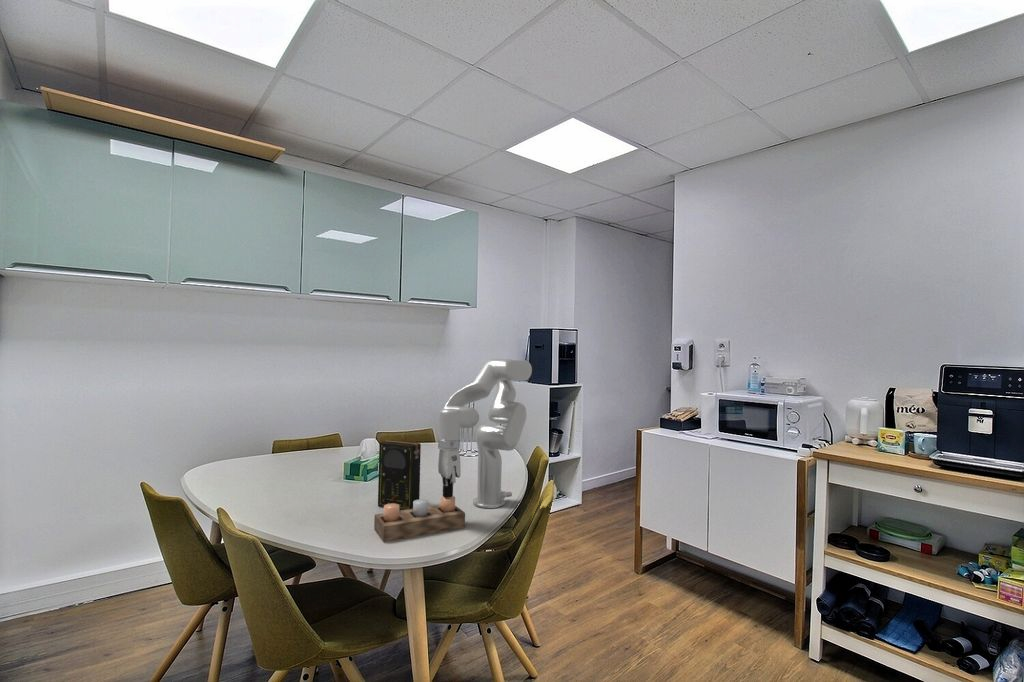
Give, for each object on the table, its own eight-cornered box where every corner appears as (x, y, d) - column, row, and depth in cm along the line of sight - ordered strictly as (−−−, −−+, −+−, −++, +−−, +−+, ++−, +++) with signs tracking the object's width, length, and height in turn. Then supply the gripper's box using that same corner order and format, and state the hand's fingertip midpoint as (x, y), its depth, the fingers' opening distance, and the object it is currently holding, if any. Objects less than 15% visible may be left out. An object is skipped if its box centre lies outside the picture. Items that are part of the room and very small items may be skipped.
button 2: (451, 508, 170) (451, 494, 170) (457, 512, 166) (457, 498, 166) (438, 510, 168) (438, 496, 168) (443, 515, 163) (444, 500, 163)
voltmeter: (375, 507, 182) (376, 442, 183) (388, 500, 190) (389, 438, 191) (410, 513, 177) (411, 445, 177) (422, 506, 185) (423, 441, 185)
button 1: (396, 517, 160) (396, 502, 160) (400, 522, 156) (401, 507, 156) (381, 519, 158) (382, 504, 158) (385, 524, 153) (386, 509, 154)
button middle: (424, 512, 165) (425, 498, 165) (429, 517, 161) (430, 502, 161) (410, 515, 163) (411, 500, 163) (415, 519, 158) (415, 504, 158)
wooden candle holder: (451, 516, 174) (451, 502, 174) (464, 527, 163) (465, 512, 164) (374, 529, 160) (374, 514, 160) (383, 542, 150) (383, 526, 150)
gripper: (467, 447, 163) (466, 501, 162) (450, 439, 176) (449, 489, 175) (447, 449, 159) (445, 504, 158) (431, 441, 172) (430, 492, 171)
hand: (447, 496), depth 167 cm, fingers closed
